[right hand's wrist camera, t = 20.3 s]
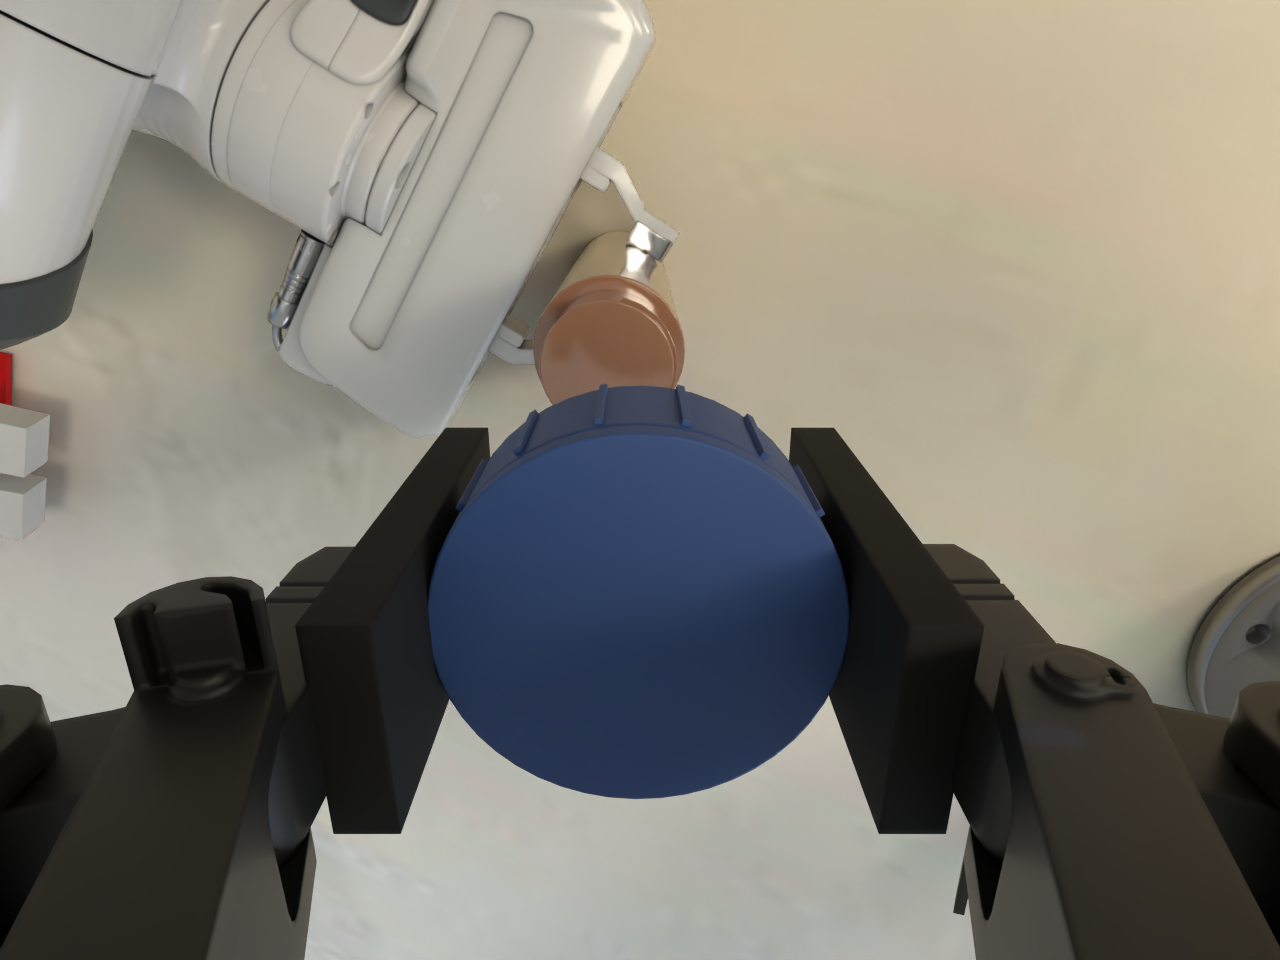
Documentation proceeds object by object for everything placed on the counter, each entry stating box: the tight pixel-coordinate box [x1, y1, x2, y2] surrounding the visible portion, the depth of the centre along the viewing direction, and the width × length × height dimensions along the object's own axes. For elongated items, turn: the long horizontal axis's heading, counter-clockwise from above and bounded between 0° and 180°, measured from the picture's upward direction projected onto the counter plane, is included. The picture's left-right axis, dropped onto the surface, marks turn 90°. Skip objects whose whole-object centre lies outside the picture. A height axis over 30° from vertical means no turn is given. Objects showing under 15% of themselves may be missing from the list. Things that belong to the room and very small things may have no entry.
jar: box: [533, 231, 685, 405], centre depth 31 cm, size 5×5×20 cm
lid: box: [428, 384, 850, 799], centre depth 11 cm, size 6×6×2 cm
